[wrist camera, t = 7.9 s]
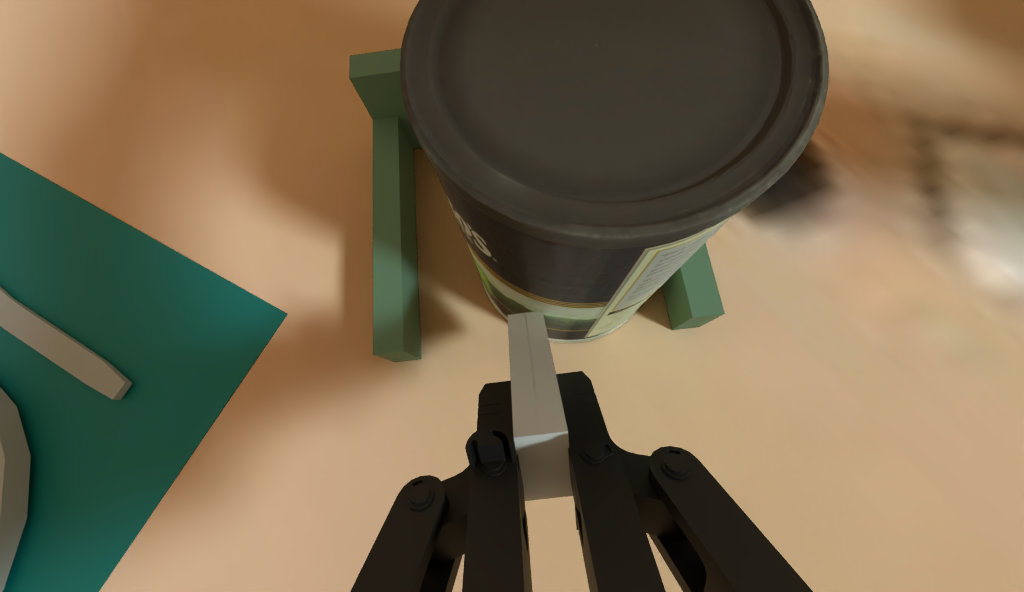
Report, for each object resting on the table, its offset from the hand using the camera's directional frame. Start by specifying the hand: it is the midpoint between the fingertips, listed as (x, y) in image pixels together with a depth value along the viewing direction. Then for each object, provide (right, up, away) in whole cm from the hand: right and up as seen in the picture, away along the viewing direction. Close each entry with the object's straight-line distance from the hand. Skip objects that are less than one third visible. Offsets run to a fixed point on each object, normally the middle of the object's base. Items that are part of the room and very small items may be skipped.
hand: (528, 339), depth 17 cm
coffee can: (+2, +4, +6) cm, 8 cm away
